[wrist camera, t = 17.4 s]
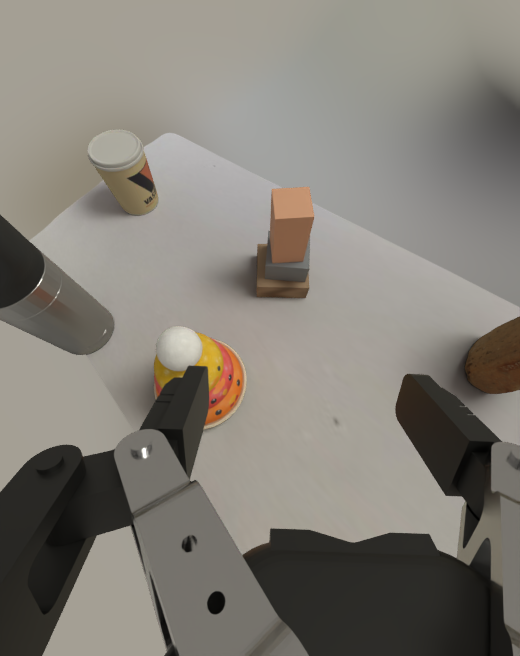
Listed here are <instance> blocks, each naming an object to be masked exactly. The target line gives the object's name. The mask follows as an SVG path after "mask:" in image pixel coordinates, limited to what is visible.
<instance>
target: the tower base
mask: <svg viewBox="0 0 520 656" xmlns="http://www.w3.org/2000/svg"><path fill="white" fill-rule="evenodd" d="M266 255H267V244H258V250H257V297H284V298H306V296H307V293H308V290H309V276H308V275H307V278H306V281H305V282H297V281H284V280H271V279H265V266H266Z"/></svg>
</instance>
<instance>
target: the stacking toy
mask: <svg viewBox="0 0 520 656" xmlns="http://www.w3.org/2000/svg"><path fill="white" fill-rule="evenodd" d="M189 365H190V366H207V367H208V380H209V409H208V414H207V418H206V422H205V425H204V429H208V428H212V427H214V426H217V425H219V424H221V423H223V422H224V421H226V420H227V419H228V418H229V417H230V416H232V414H233V413H234V412H235V411H236V410H237V408H238V407H239V405H240V404H241V402H242V400H243V397H244V394H245V390H246V384H247V377H246V370H245V367H244V364H243V362H242V360H241V358H240V357H239V355H238V354H237V353H236V352H235V351H234V350H233V349H232V348H231V347H230V346H228V345H227V344H225V343H223V342H221V341H218V340H215V339H212V338H209V337H207V336H206V335H203V334H201V333H196V332H194V331H193V330H191V329H189V328H186V327H182V326H175V327H171V328H169V329H167V330H165V331H164V332H163V333H162V334H161V335H160V337H159V338H158V340H157V344H156V357H155V362H154V380H155V381H154V394H155V399H157V398H158V396H159V395H160V392H161V390H162V389H163V387H164V385H165V384H166V383H168V382H169V381H170V380H171V379H173V378H174V377H180V378H182V377H183V375H184V373H185V371H186V369H187V367H188V366H189Z"/></svg>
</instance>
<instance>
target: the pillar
mask: <svg viewBox="0 0 520 656" xmlns="http://www.w3.org/2000/svg"><path fill="white" fill-rule="evenodd" d="M313 220H314V212H313V206H312V201H311V195H310V189H309V187H299V188H282V189H272V197H271V221H270V245H271V255H272V263H287V262H303V260H304V256H305V252H306V248H307V244H308V240H309V236H310V232H311V228H312V224H313Z"/></svg>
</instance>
